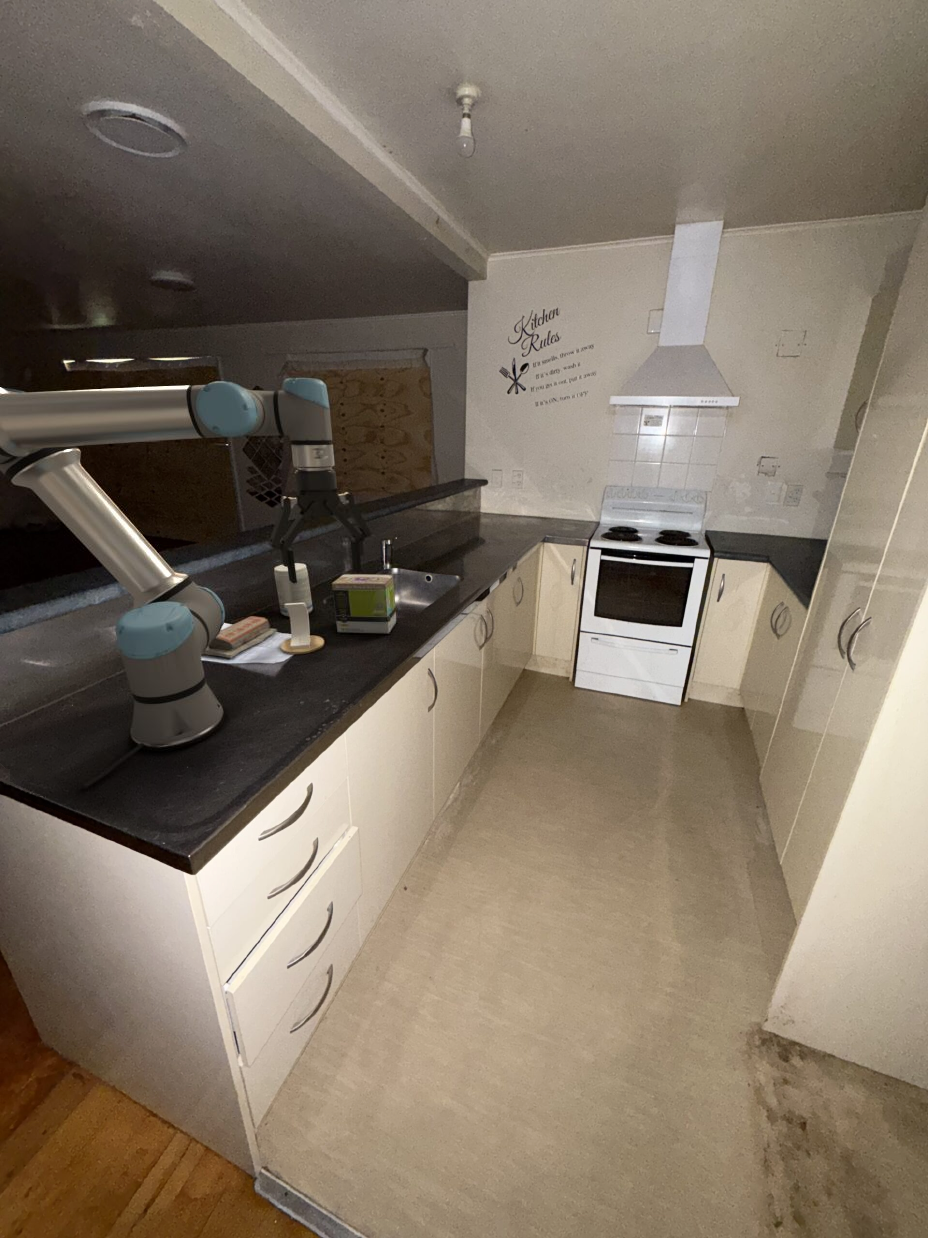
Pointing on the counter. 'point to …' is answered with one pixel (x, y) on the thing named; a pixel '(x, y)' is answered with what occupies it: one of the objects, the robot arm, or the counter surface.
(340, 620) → the tea box
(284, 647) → the birch coaster
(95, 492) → the robot arm
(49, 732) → the counter surface
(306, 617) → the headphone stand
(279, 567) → the supplement tub
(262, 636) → the packaged product
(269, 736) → the counter surface
